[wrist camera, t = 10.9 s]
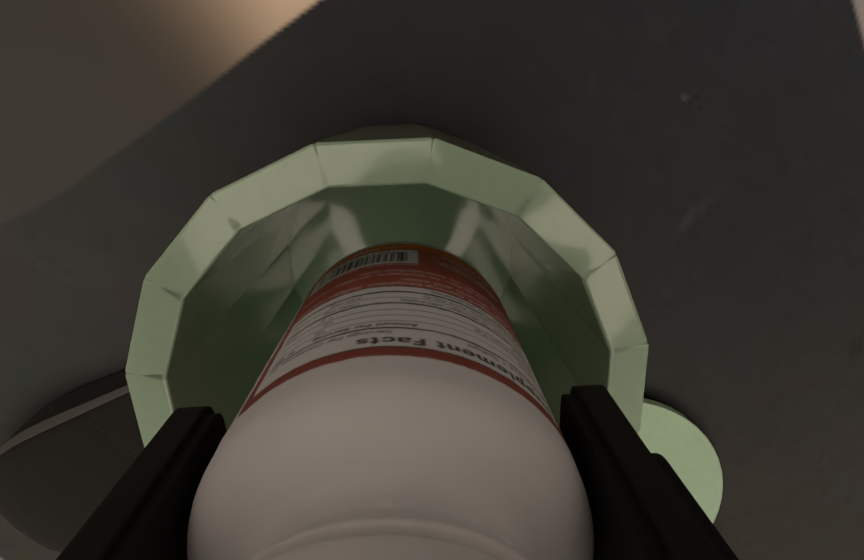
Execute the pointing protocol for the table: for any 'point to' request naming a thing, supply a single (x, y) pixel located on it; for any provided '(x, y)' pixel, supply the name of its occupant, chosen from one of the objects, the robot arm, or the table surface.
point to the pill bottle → (394, 430)
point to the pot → (365, 226)
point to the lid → (684, 453)
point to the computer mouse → (68, 461)
